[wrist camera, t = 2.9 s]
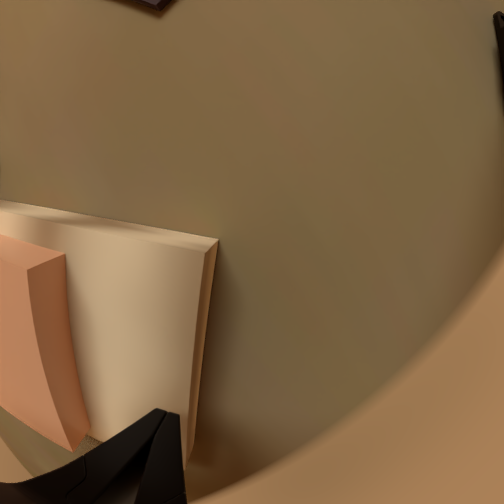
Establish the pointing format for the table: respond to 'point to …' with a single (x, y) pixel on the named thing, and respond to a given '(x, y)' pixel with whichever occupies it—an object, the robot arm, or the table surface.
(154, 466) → the robot arm
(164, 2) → the chocolate bar
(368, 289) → the table surface
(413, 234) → the table surface
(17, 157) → the table surface
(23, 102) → the table surface
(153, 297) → the beige square slab
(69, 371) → the salmon orange rectangular block
